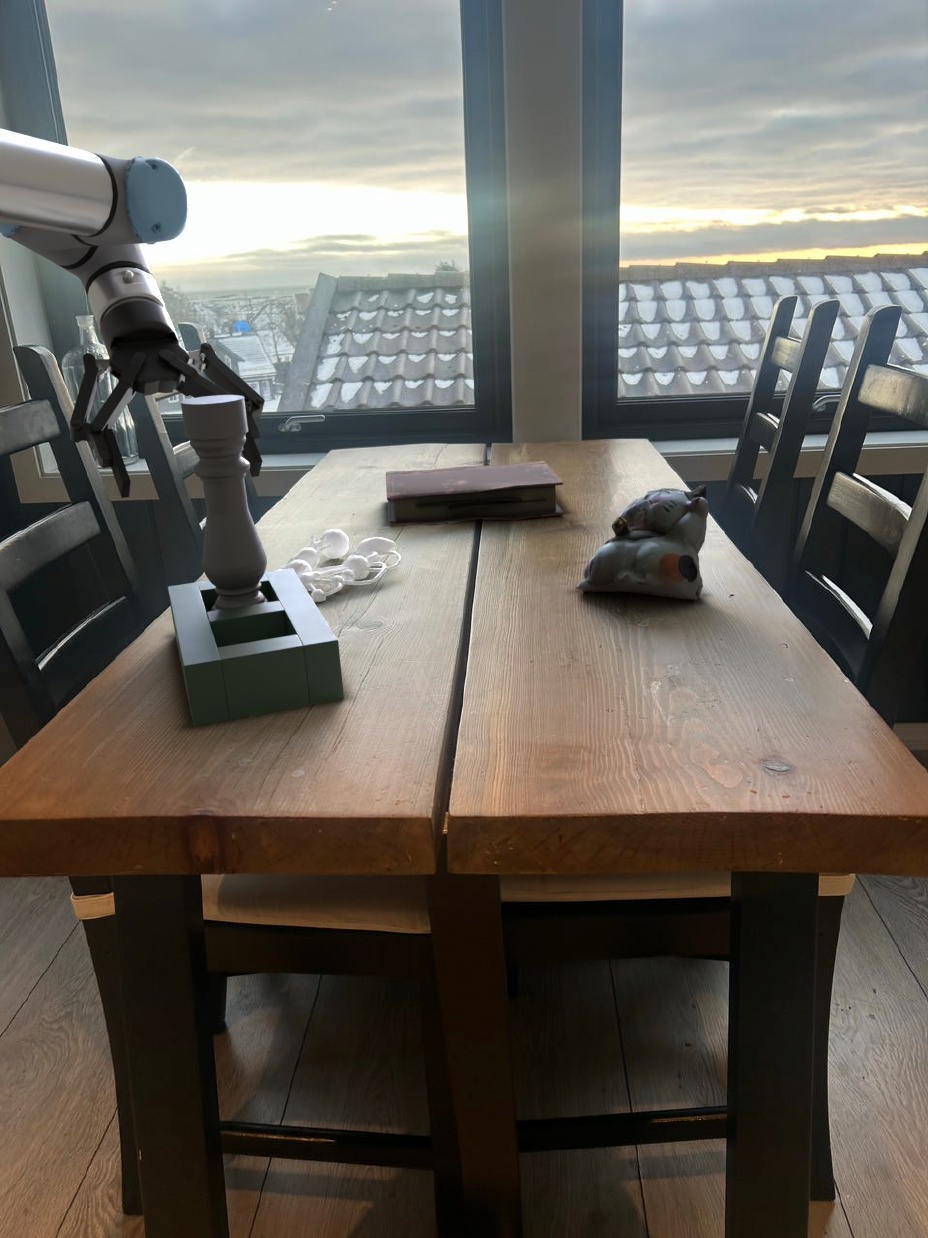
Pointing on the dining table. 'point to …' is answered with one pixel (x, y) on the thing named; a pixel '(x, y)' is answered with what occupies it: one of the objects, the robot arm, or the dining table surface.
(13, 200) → the robot arm
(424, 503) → the diary
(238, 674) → the rack
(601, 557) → the lucky cat figurine
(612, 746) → the dining table surface
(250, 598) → the candle holder
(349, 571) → the tangled rod sculpture
